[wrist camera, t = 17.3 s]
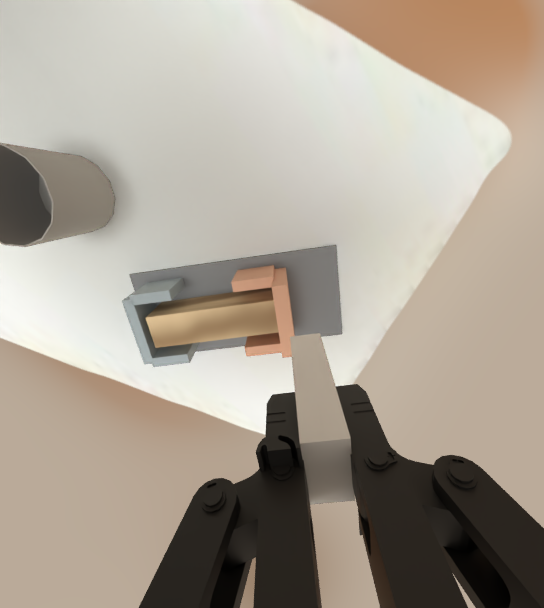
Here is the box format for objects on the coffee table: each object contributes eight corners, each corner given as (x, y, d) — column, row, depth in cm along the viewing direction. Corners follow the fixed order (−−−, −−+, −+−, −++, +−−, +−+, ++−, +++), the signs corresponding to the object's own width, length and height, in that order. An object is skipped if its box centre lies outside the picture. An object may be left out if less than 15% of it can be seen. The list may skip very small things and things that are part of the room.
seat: (130, 274, 37) (107, 287, 32) (335, 245, 35) (344, 254, 30) (157, 355, 42) (141, 377, 37) (341, 333, 40) (350, 353, 35)
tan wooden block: (161, 302, 38) (145, 317, 34) (275, 286, 37) (274, 300, 32) (170, 329, 40) (155, 348, 35) (279, 314, 39) (279, 332, 34)
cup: (129, 206, 34) (74, 212, 25) (81, 245, 36) (12, 264, 27) (75, 138, 32) (-9, 117, 23) (26, 183, 34) (-70, 181, 24)
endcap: (237, 270, 36) (228, 287, 30) (285, 263, 36) (286, 280, 29) (250, 336, 40) (244, 365, 33) (294, 331, 39) (297, 359, 33)
